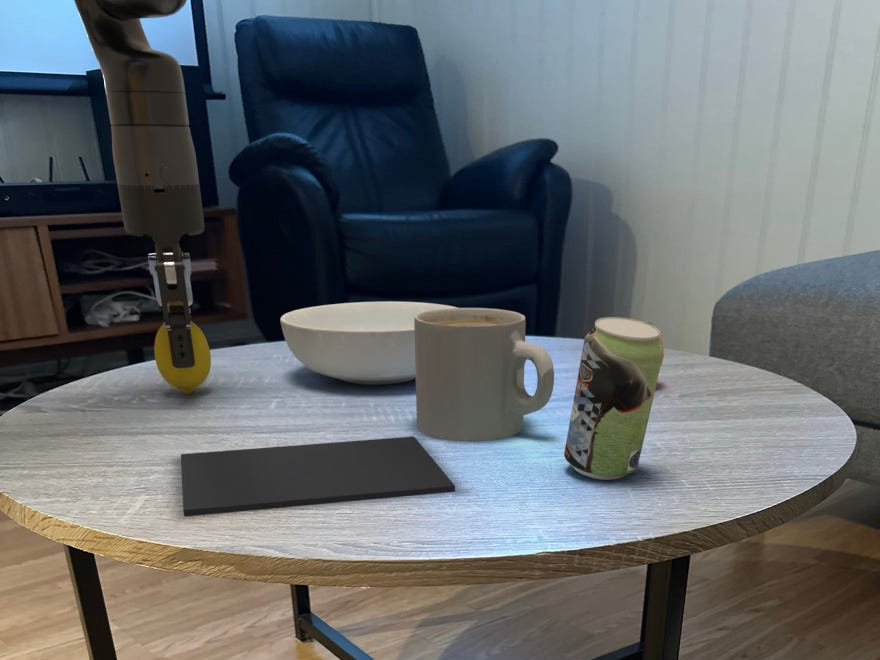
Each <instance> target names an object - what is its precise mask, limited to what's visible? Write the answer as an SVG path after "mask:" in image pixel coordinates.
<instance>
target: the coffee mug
mask: <svg viewBox="0 0 880 660" xmlns="http://www.w3.org/2000/svg"><path fill="white" fill-rule="evenodd" d="M526 319H527V318H526V316H525V315H524V314H522V313H520V312H517V311H512V310H508V309H507V310H506V309H499V308H487V307H457V308H448V309H438V310H430V311H425V312H421V313H419V314H417V315H416V316H415V318H414V330H415V369H416V378H415V396H416V397H415V405H416V429H417V431H418V432H419V433H421V434H423V435H425V436H428V437H431V438H435V439H438V440H444V441H452V442H487V441H489V442H490V441H495V440H501V439H506V438H510V437H513V436H516V435H518V434H519V433H520V432H521V431H522V430H523V428H524V416H526V415H530V414H532V413H536V412H538V411H540V410H541V409H543V408H544V407H545V406H547V404H548V403H549V401H550V399H551V397H552V395H553V392H554V391H553V390H554V385H555V368H554V363H553V360H552V357H551V356H550V354H549V352H548V351H547V350H546V349H545V348H544V347H542V346H540V345H538V344H535V343H532V342H527V341H526V329H527V328H526V325H527V324H526V323H527V321H526ZM527 361H531V363H532V364H533V365H534V367H535V370H536V378H537V380H536V381H537V383H536V388H535V392H534V394H533V395H530V394H529V393H528V392H527V390H526V387H525V365H526V362H527Z"/></svg>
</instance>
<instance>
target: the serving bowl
mask: <svg viewBox="0 0 880 660" xmlns="http://www.w3.org/2000/svg"><path fill="white" fill-rule="evenodd" d="M448 308H458V307H456V306H452V305H448V304H441V303H440V304H439V303H431V302H417V301H361V302H359V301H358V302H344V303H334V304H324V305H317V306H310V307H304V308H300V309H299V308H298V309H295V310H292V311H289V312H286V313H284V314H283V315H281V317H280V320H279V321H280V326H281V330H282V334H283V337H284V340H285V343H286V345H287V347H288V349H289V350H290V352H291V353H292V355H293V356H294V357H295V358H296V359H297V360H298V361H299V362H300V363H301V364H302V365H303V366H305V367H306V368H307V369H309V370H311V371H313V372H316V373H317V374H320V375H322V376H326V377H330V378H334V379H338V380H340V381H343V382H345V383H346V382H347V383H351V384H356V385H373V386H374V385H378V386H379V385H381V386H382V385H394V384H401V383H406V382H409V381H413V380H414V379H415V380H416V369H415V330H414V318H415V316H416V315H417V314H419V313H421V312H425V311H430V310H438V309H448Z"/></svg>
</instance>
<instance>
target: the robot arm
mask: <svg viewBox="0 0 880 660" xmlns="http://www.w3.org/2000/svg"><path fill="white" fill-rule="evenodd" d="M73 1H74V4H75V7H76V10H77V13H78V16H79V17H80V20H81V22H82V25H83V28H84V30H85V33H86V36H87V38H88V41H89V44H90V46H91V50H92V52H93V54H94V56H95V58H96V60H97V63H98V65H99V68H100V70H101V73H102V77H103V81H104V89H105V97H106V103H107V109H108V115H109V121H110V122H109V123H110V125H111V126H110V129H111V147H112V148H111V149H112V150H111V151H112V160H113V165H114V170H115V171H114V172H115V177H116V183H117V190H118V196H119V202H120V203H119V204H120V208H121V215H122V222H123V226H124V228H123V229H124V231H125V232H126V233H127V234H128V235H131V236H133V237H149V238H151V239H152V240H153V242H154V248H155V253H148V256H147V261H148V267H149V268H148V269H149V273H150V276H151V277H152V278H153V285H154V292H155V299H156V303H157V305H158V306H160V307H161V308H162V309H161V310H162V315H163V316H162V317H161V319H162V323H163V324H164V326H166V329H167V331H168V338H169V344H170V351H171V358H172V364H173V366H174V367H175V368H189V367H193V366H194V365H195V359H194V351H193V344H192V337H191V329H190V328H191V324H192V323H193V318H192V317H193V316H192V315H190V314H192V312H191V308H190V306H192V305H193V303H194V297H193V290H192V283H191V275H192V274H193V273H192V263H191V256H190V253H189V252H184V251H182V250H181V249H182V248H181V247H180V239H181V238H182V237H184V236H187V237H189V236H196V235H200V234H202V233H203V232H204V231H205V217H204V210H203V203H202V194H201V187H200V186H201V185H200V179H199V178H200V177H199V170H198V169H199V168H198V161H197V155H196V150H195V145H194V141H193V137H192V133H191V127H189V126H190V120H189V111H188V102H187V97H186V87H185V80H184V79H185V78H184V75H183V71H182V67H181V65H180V63H179V62H178V60H177V59H176V58H175V57H174V56H172V55H171V54H168V53H167V52H164V51H160V50H157V49H153V48H152V47H151V45H150V43H149V40H148V38H147V35H146V33H145V29H144V27H143V25H142V22H141V19H158V18H166V17H170V16H174V15H175V14H177V13H179V12H180V11H181V10H182V9H183V8H184V7H185V5H186V3H187V0H73Z"/></svg>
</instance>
